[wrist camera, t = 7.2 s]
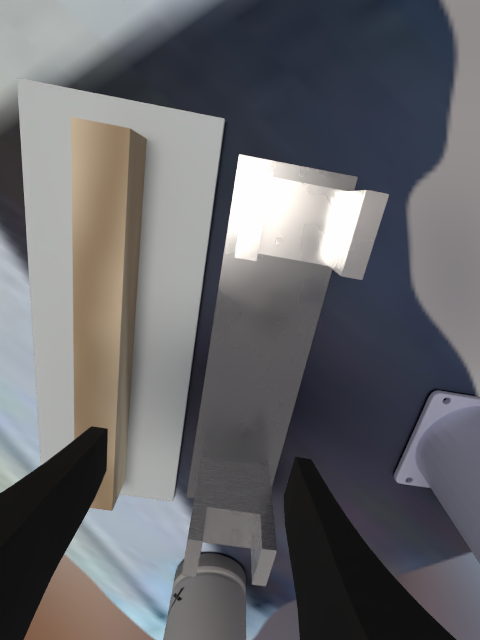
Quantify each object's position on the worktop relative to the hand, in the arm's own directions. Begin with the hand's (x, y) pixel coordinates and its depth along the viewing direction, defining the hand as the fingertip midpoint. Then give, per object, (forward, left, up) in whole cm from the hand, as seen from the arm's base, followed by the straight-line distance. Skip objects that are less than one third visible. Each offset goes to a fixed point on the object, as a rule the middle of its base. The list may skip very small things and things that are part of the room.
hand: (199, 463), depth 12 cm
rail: (+7, 0, -9) cm, 11 cm away
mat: (+7, 0, -9) cm, 11 cm away
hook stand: (-2, 0, -9) cm, 9 cm away
